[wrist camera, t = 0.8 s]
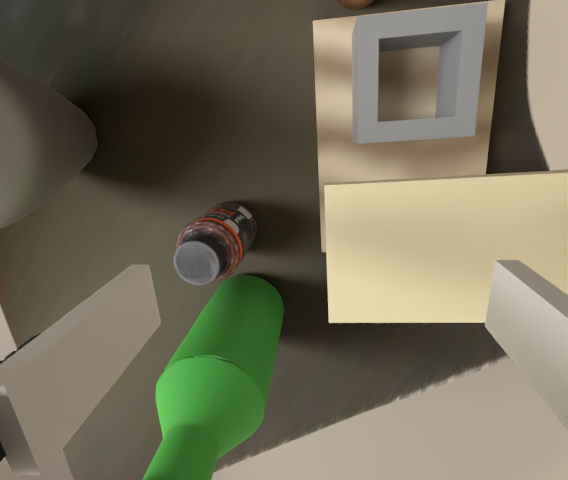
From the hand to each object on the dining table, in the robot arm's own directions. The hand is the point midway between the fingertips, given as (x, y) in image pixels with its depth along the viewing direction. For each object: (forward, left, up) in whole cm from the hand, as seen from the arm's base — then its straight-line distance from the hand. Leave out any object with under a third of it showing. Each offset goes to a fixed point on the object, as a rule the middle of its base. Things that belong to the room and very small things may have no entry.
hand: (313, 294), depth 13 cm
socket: (-9, +8, -23) cm, 26 cm away
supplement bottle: (+4, -10, -24) cm, 27 cm away
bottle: (+14, -9, -24) cm, 29 cm away
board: (-4, +8, -24) cm, 26 cm away
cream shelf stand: (+2, +8, -23) cm, 24 cm away
